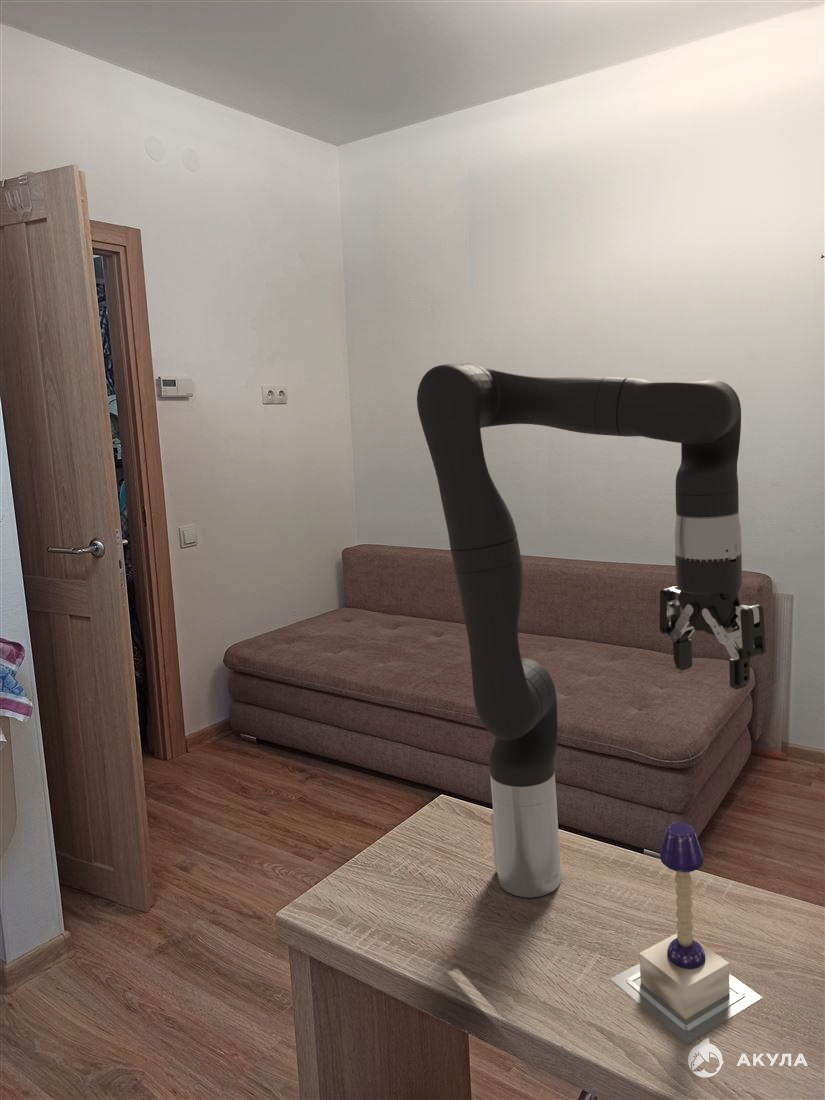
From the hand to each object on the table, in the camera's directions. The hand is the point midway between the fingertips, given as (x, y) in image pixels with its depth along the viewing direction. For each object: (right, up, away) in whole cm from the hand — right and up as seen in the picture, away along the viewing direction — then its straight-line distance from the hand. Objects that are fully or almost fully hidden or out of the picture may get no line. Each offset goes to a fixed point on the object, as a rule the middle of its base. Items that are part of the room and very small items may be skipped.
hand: (710, 677), depth 101 cm
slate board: (-5, -36, -5) cm, 37 cm away
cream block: (-5, -35, -5) cm, 36 cm away
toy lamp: (-5, -32, -6) cm, 33 cm away
